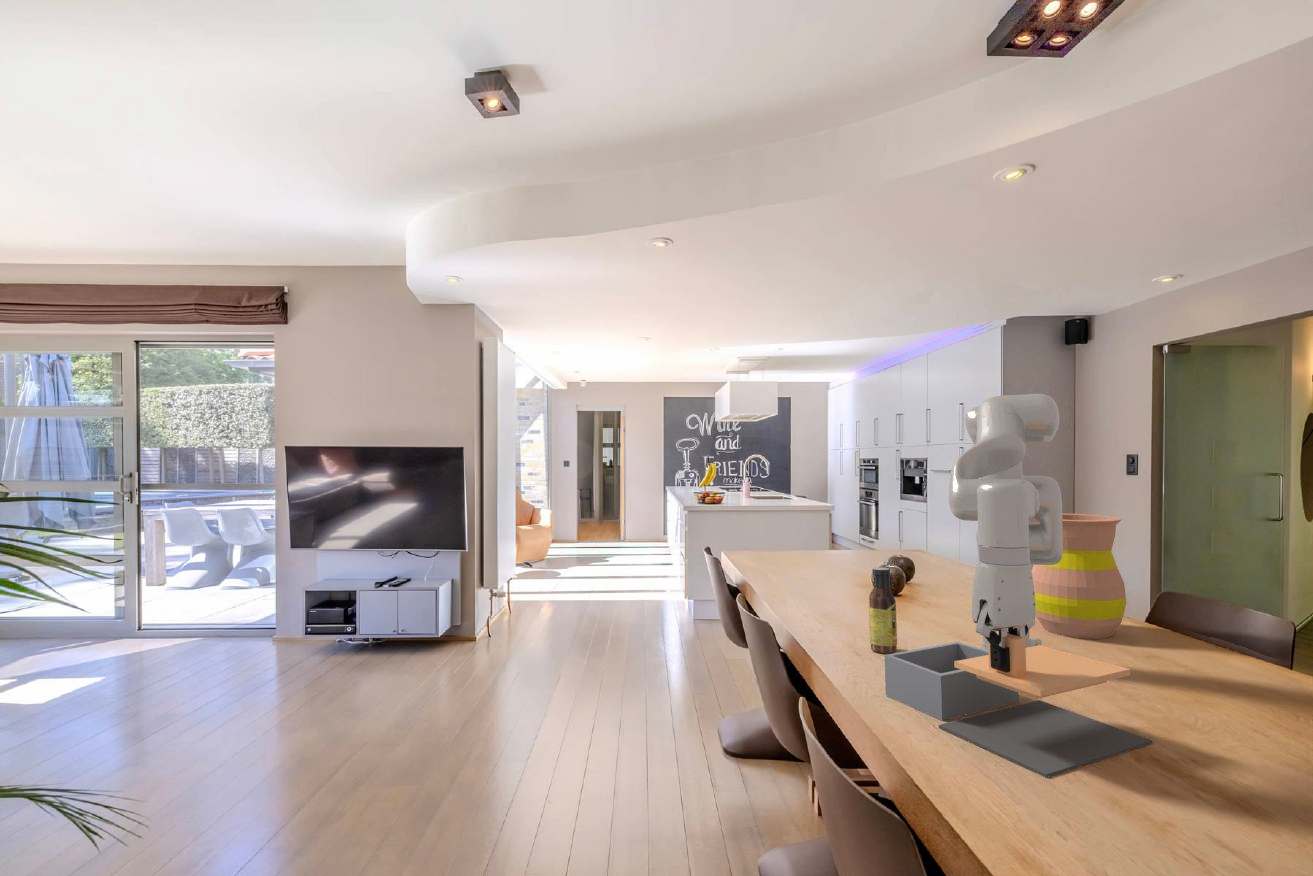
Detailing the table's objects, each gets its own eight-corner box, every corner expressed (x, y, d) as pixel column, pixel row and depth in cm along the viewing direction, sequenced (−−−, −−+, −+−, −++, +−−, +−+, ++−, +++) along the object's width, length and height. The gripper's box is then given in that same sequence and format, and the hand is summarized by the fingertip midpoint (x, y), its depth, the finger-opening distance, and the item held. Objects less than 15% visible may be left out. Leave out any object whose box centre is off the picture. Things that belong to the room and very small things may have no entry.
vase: (1016, 619, 189) (1013, 513, 190) (1100, 621, 186) (1096, 513, 187) (1050, 641, 167) (1047, 521, 168) (1146, 643, 164) (1142, 521, 165)
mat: (1038, 702, 128) (1038, 700, 128) (1152, 743, 109) (1152, 740, 109) (938, 727, 117) (938, 725, 117) (1046, 777, 99) (1046, 774, 99)
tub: (958, 679, 141) (957, 641, 141) (1018, 701, 128) (1017, 659, 128) (885, 695, 133) (884, 655, 133) (942, 720, 120) (940, 675, 120)
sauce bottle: (899, 655, 159) (897, 571, 159) (871, 654, 160) (869, 570, 160) (895, 647, 165) (893, 566, 165) (868, 646, 166) (866, 566, 167)
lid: (1040, 658, 125) (1038, 612, 125) (1130, 684, 110) (1128, 632, 111) (954, 675, 116) (953, 626, 116) (1040, 706, 101) (1039, 650, 102)
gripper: (1016, 550, 117) (1020, 656, 117) (949, 557, 111) (952, 669, 110) (1057, 555, 110) (1061, 668, 110) (989, 563, 104) (992, 683, 103)
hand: (1007, 667), depth 110 cm, fingers closed on lid, 2 cm apart
